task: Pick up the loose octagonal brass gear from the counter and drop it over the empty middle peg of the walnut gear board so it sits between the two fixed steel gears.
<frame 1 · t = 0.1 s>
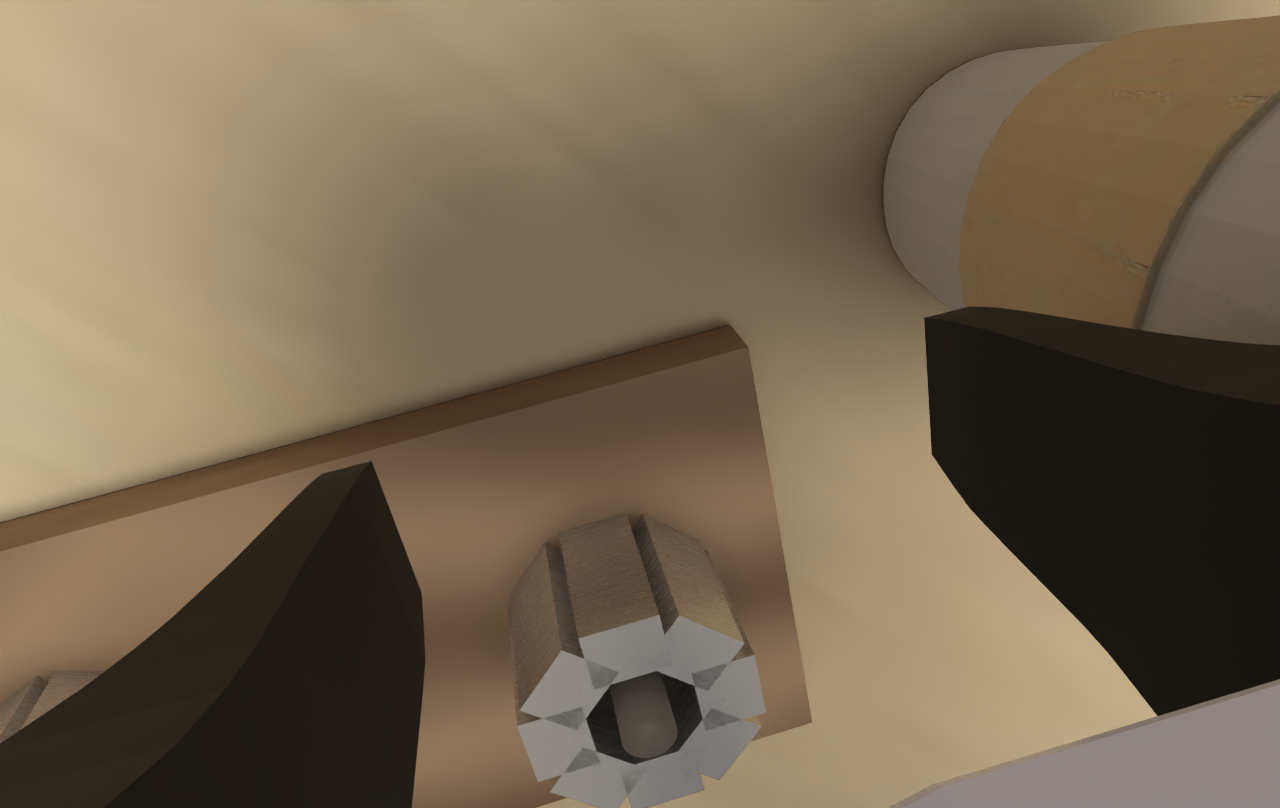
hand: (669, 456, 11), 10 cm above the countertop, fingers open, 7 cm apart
coffee cup: (990, 172, 22), on the countertop
gear board: (369, 639, 24), on the countertop
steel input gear: (615, 605, 23), resting on gear board
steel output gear: (102, 755, 22), resting on gear board
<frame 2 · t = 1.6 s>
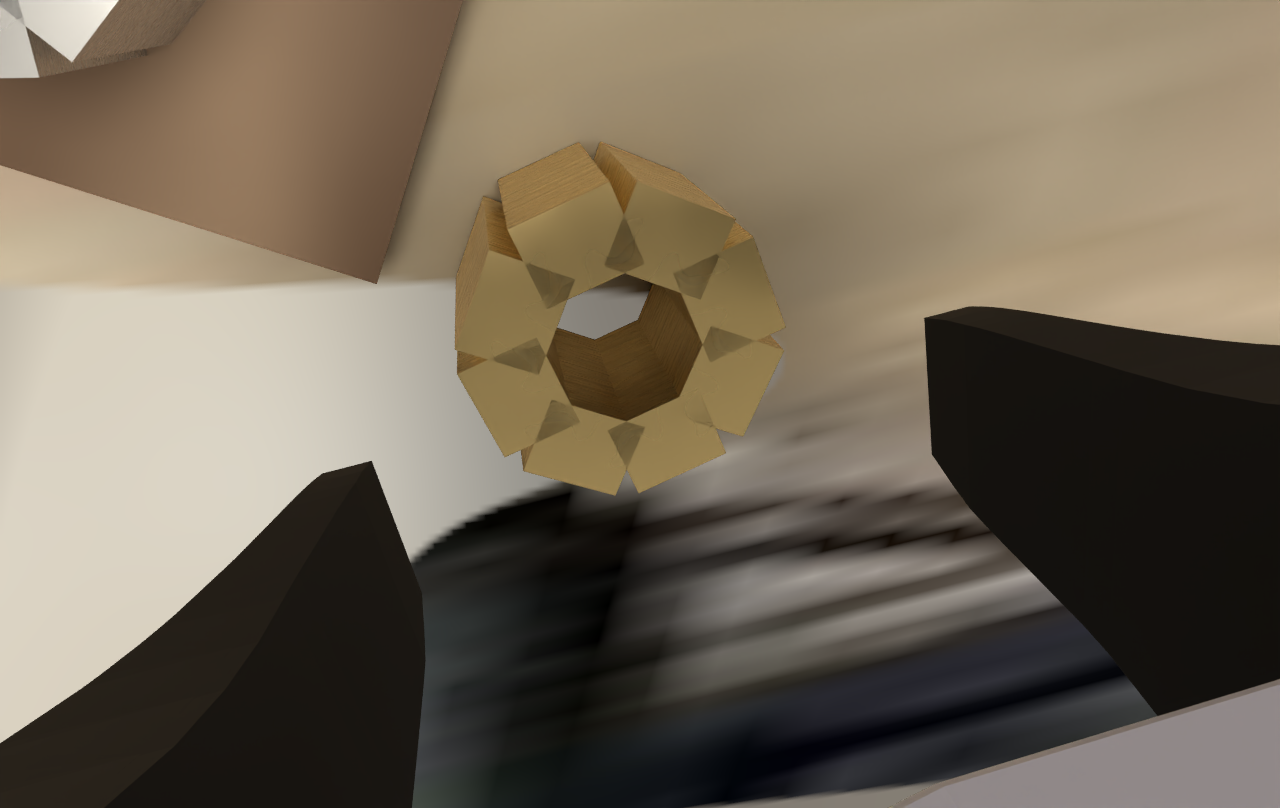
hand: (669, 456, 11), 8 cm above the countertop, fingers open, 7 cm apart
brass gear: (593, 279, 18), on the countertop
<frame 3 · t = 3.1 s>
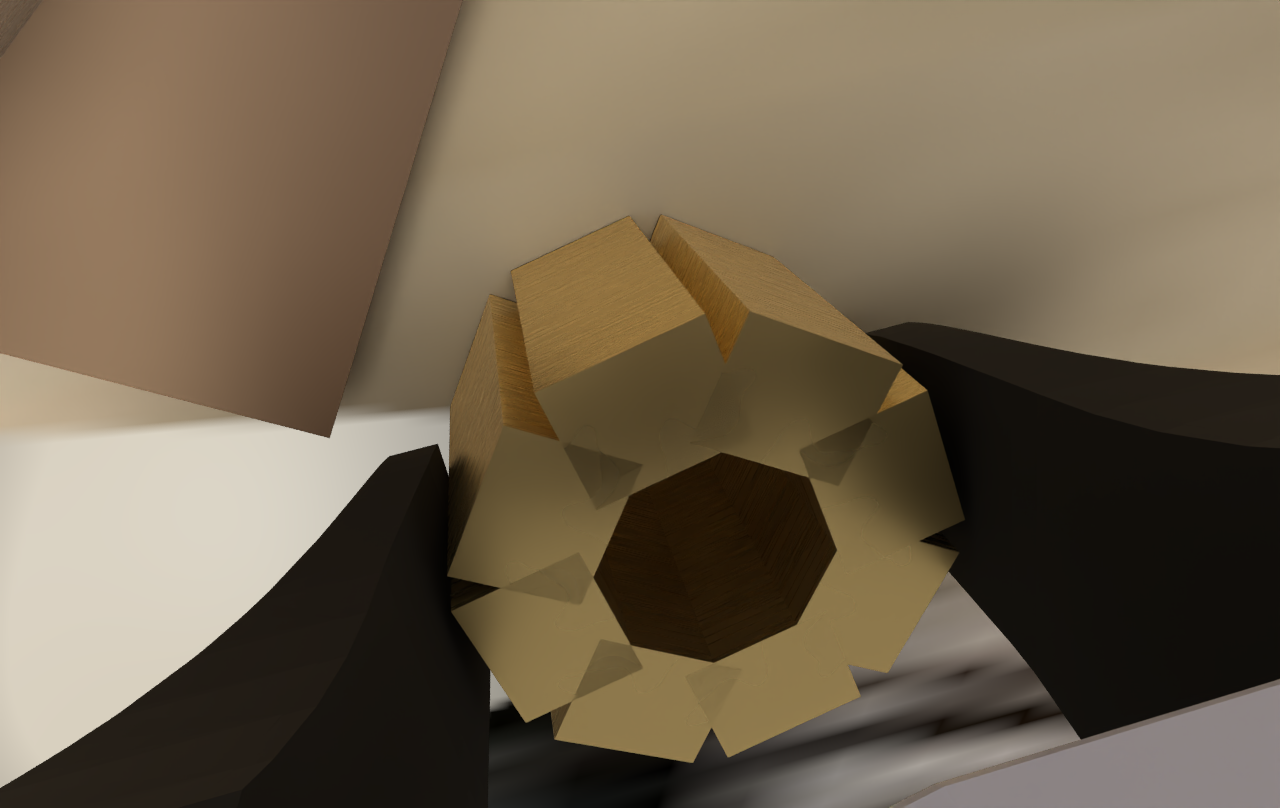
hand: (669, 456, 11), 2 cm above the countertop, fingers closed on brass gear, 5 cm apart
brass gear: (645, 405, 13), on the countertop, touching gripper
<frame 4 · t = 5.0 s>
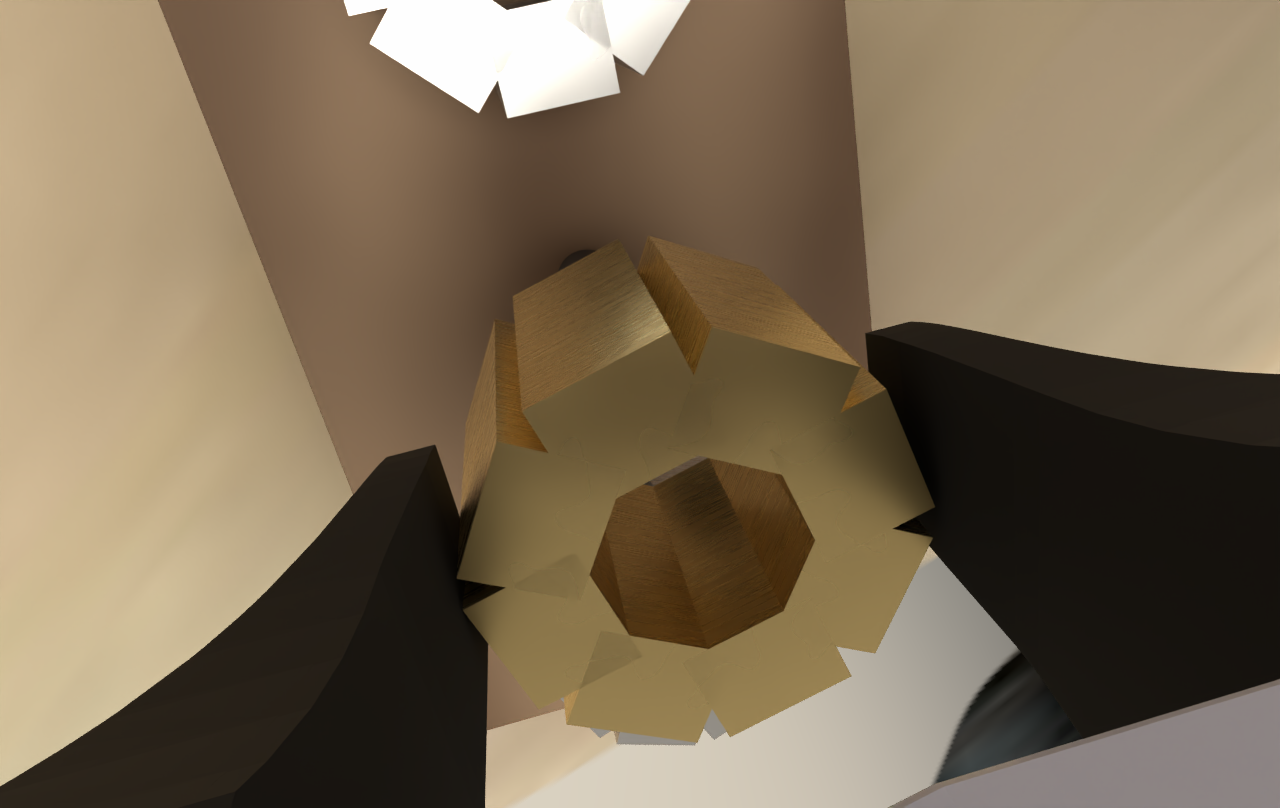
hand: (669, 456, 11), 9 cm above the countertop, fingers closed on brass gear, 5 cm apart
gear board: (577, 258, 20), on the countertop
brass gear: (647, 412, 14), point 7 cm above the countertop, touching gripper
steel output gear: (645, 535, 21), resting on gear board
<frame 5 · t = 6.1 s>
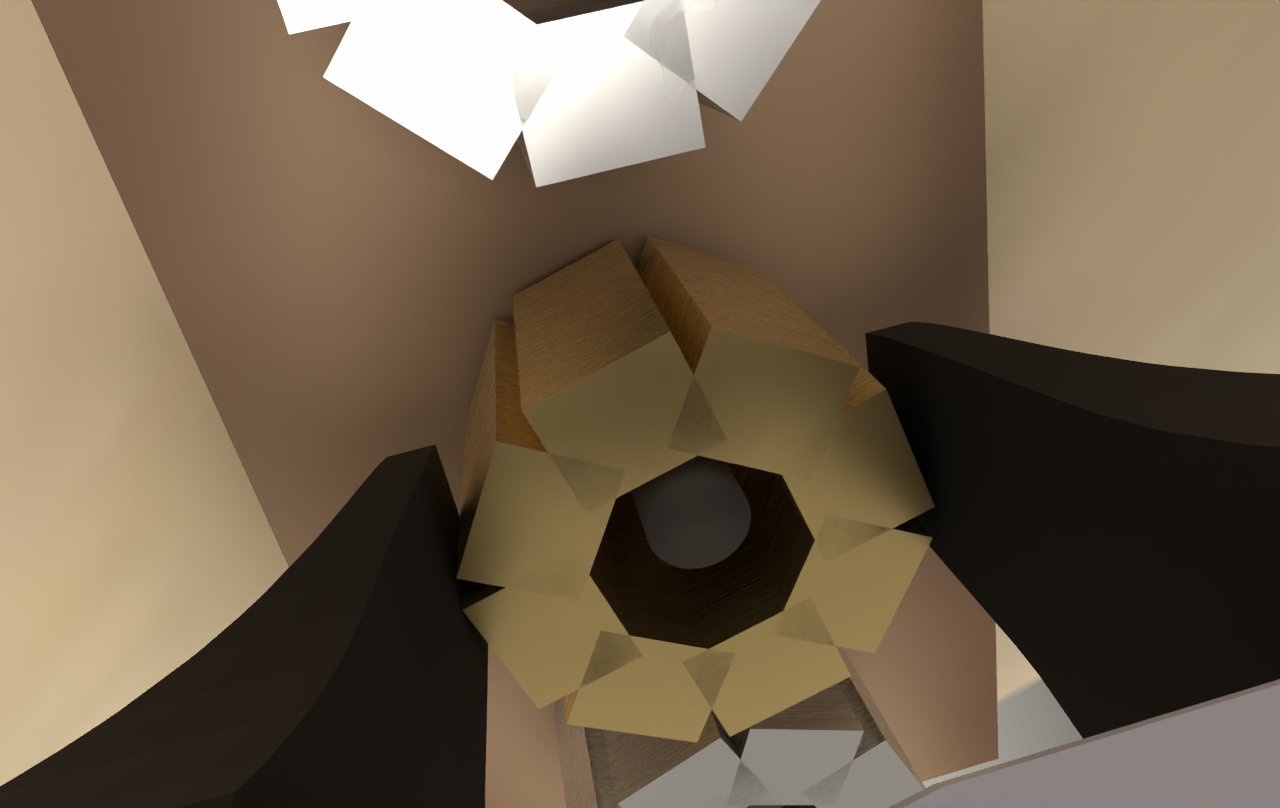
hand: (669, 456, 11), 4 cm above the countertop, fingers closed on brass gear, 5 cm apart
gear board: (614, 338, 15), on the countertop
brass gear: (647, 412, 14), point 2 cm above the countertop, touching gripper
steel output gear: (697, 680, 17), resting on gear board
when the fingers open (4 cm above the countertop, at t = 6.9 s): brass gear stays where it is, resting on gear board.
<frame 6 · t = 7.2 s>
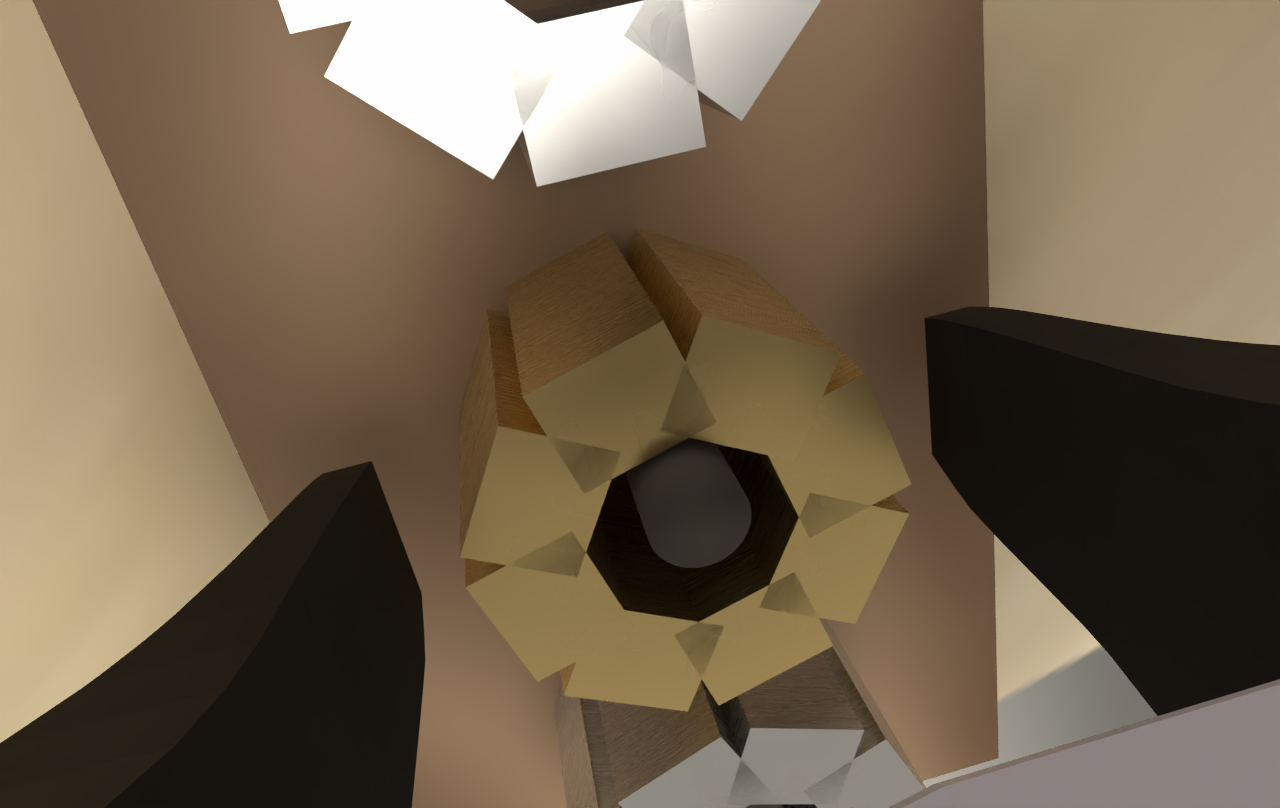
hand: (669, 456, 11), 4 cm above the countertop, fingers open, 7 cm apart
gear board: (615, 337, 15), on the countertop
brass gear: (634, 398, 14), point 1 cm above the countertop, touching gear board
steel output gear: (697, 679, 17), resting on gear board
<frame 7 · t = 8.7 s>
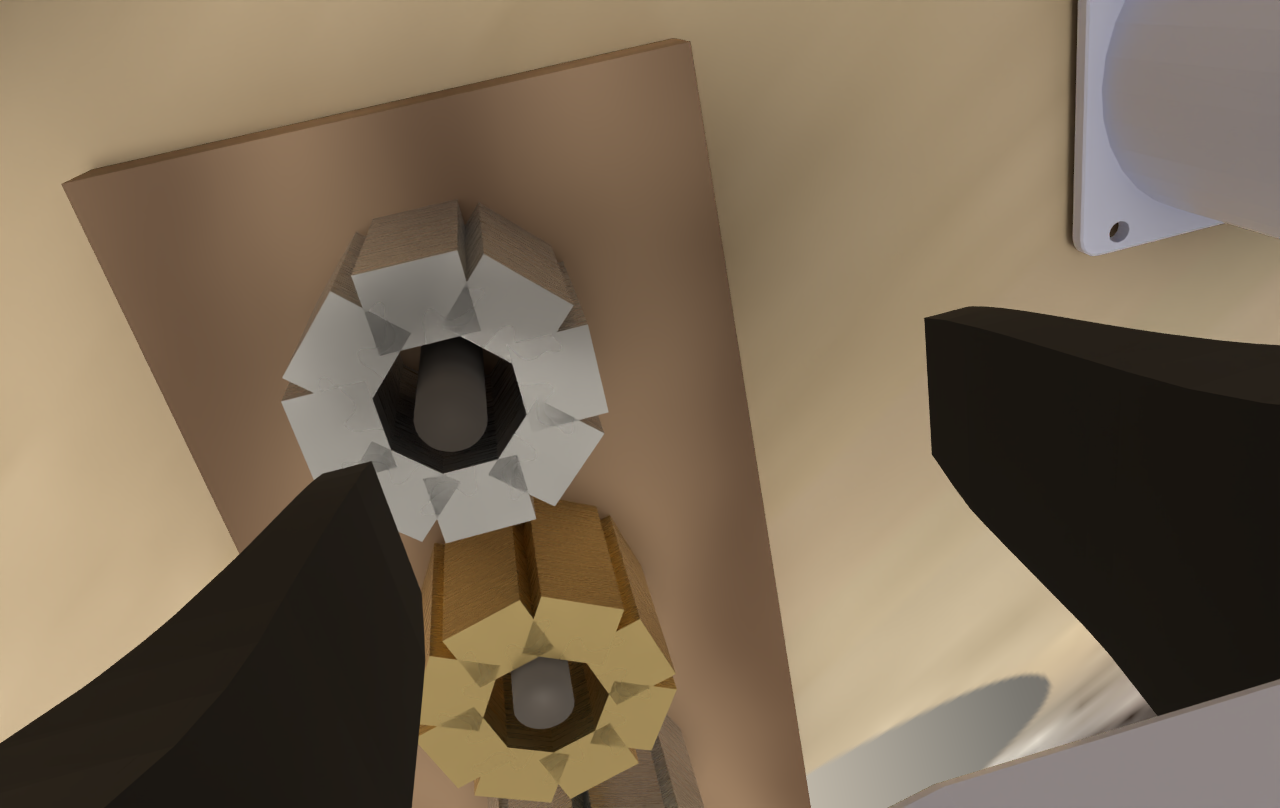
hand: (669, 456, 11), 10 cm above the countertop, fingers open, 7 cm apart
gear board: (524, 540, 23), on the countertop
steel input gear: (452, 328, 19), resting on gear board
brass gear: (532, 589, 22), point 1 cm above the countertop, touching gear board
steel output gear: (586, 761, 25), resting on gear board
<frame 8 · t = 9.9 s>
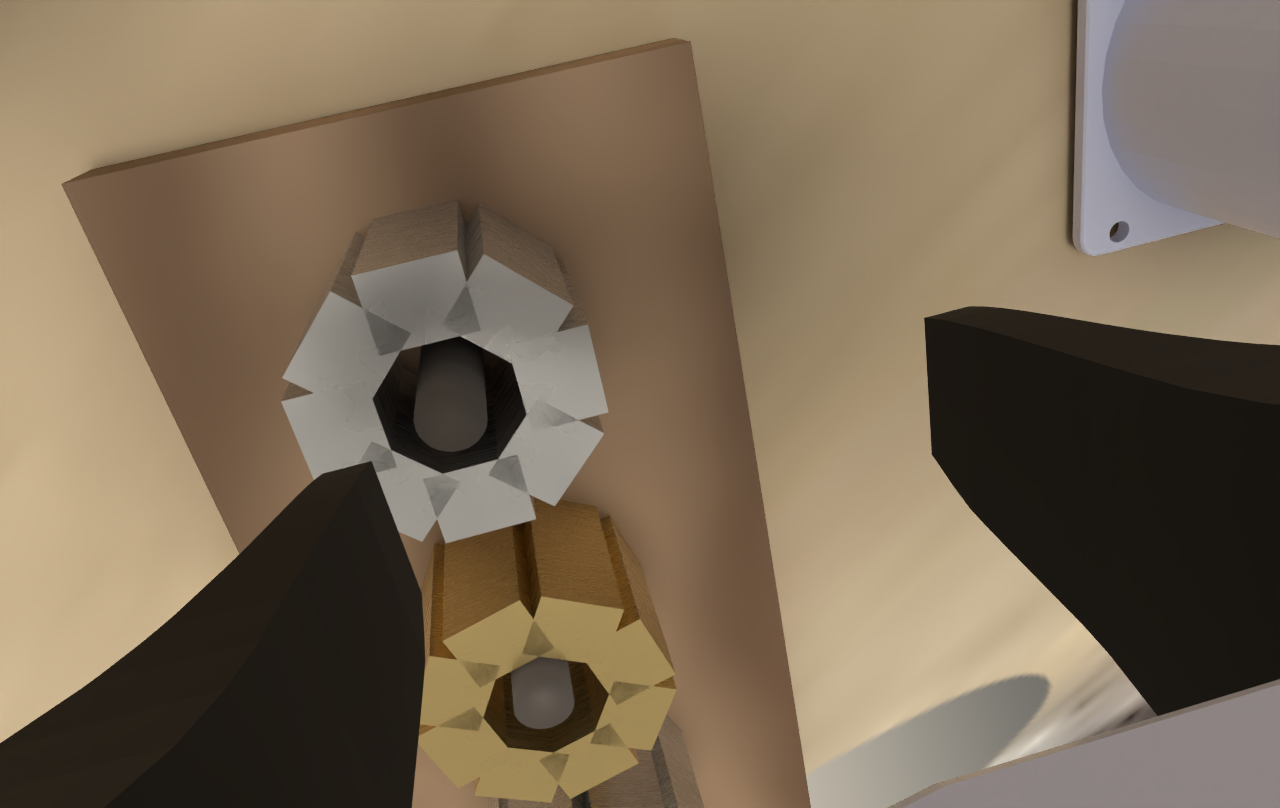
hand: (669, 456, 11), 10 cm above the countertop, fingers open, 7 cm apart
gear board: (524, 540, 23), on the countertop
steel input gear: (452, 328, 19), resting on gear board
brass gear: (532, 589, 22), point 1 cm above the countertop, touching gear board
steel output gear: (586, 761, 25), resting on gear board
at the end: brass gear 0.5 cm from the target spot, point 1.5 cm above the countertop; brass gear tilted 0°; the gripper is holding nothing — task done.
